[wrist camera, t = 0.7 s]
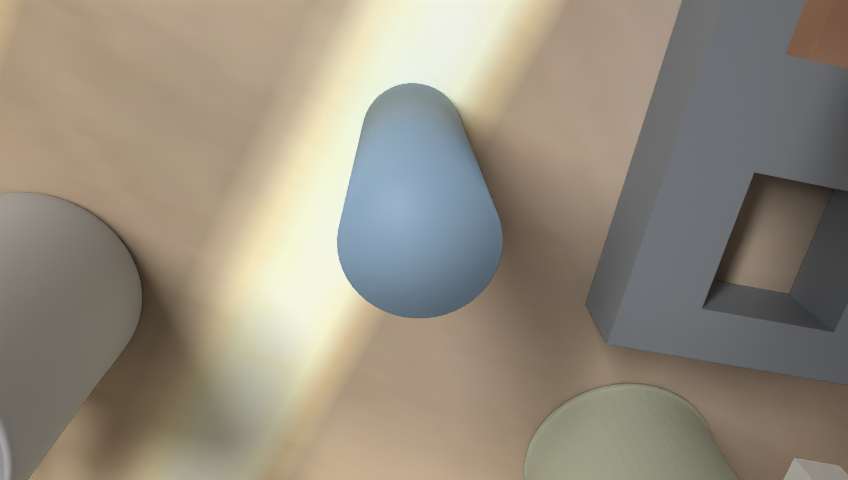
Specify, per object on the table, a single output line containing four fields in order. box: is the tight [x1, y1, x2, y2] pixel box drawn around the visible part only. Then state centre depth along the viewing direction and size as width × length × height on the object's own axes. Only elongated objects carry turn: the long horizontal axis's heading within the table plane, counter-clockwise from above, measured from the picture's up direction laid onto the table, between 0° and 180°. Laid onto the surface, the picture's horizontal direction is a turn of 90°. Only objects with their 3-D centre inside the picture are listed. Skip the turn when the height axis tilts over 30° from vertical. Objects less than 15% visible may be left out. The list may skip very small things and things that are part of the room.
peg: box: [337, 83, 503, 318], centre depth 23 cm, size 4×4×12 cm
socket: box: [586, 0, 848, 385], centre depth 27 cm, size 16×12×4 cm
